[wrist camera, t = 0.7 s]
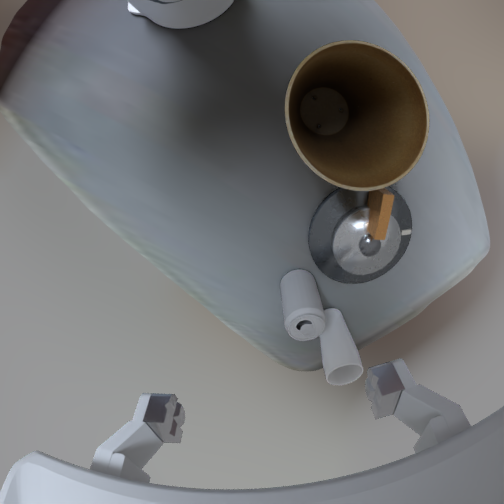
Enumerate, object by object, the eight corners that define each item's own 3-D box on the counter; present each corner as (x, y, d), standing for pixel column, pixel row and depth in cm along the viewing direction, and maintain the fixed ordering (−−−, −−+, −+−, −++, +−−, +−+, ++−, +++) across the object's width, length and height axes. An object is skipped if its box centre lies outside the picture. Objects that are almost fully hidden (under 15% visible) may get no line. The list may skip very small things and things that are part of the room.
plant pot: (372, 157, 38) (426, 190, 25) (277, 160, 39) (291, 195, 25) (368, 64, 31) (426, 52, 17) (268, 62, 32) (276, 37, 18)
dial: (386, 268, 47) (398, 285, 42) (325, 268, 47) (332, 287, 42) (406, 187, 39) (422, 198, 34) (338, 180, 39) (349, 191, 34)
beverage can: (303, 260, 48) (315, 306, 37) (320, 284, 50) (334, 331, 40) (272, 278, 50) (276, 326, 39) (291, 300, 52) (298, 348, 42)
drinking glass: (344, 324, 56) (361, 381, 43) (313, 330, 56) (324, 388, 44) (345, 301, 53) (366, 360, 40) (312, 306, 53) (326, 367, 40)
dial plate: (303, 186, 41) (305, 189, 40) (412, 177, 39) (416, 179, 38) (311, 286, 51) (312, 291, 49) (403, 271, 49) (406, 275, 48)
